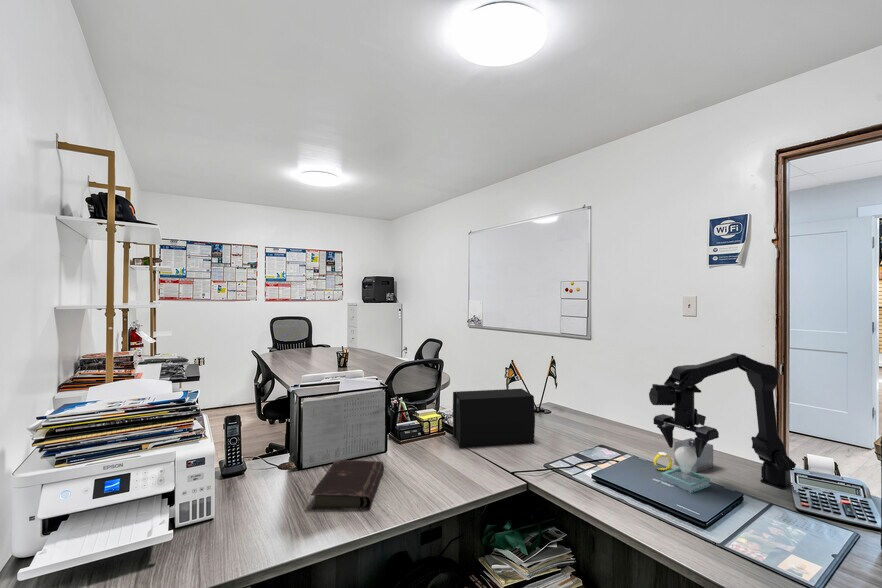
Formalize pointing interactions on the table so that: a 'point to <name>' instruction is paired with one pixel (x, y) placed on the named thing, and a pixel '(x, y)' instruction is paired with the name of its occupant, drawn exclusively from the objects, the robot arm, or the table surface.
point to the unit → (703, 461)
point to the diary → (348, 485)
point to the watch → (662, 454)
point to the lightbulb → (685, 460)
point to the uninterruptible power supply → (493, 417)
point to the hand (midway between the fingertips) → (684, 452)
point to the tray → (702, 479)
